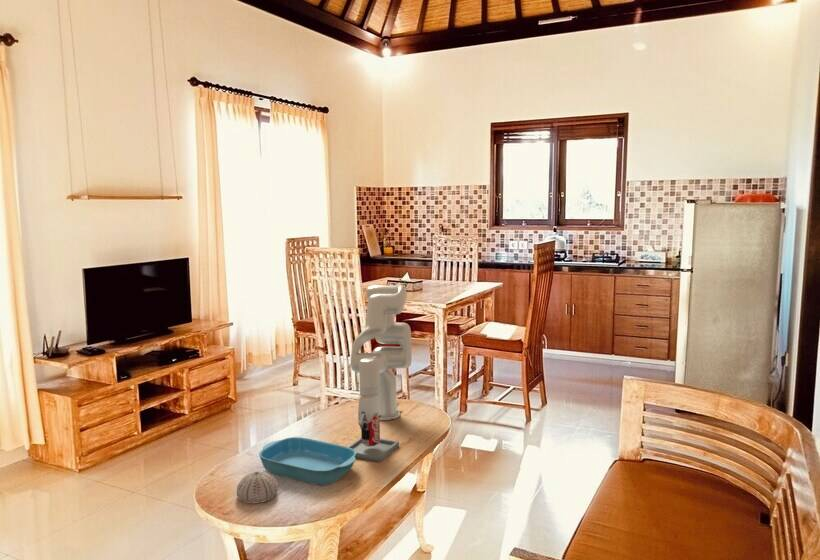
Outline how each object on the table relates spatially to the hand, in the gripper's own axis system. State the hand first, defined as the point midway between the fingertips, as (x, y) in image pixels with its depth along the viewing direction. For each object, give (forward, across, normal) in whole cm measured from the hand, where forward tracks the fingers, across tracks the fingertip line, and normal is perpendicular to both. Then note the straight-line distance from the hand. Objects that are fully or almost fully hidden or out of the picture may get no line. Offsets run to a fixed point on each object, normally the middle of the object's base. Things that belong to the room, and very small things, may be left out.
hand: (370, 435), depth 228 cm
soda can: (+4, 0, 0) cm, 4 cm away
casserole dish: (+6, +24, -12) cm, 28 cm away
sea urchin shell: (+6, +47, -16) cm, 50 cm away
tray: (+6, 0, 0) cm, 6 cm away
